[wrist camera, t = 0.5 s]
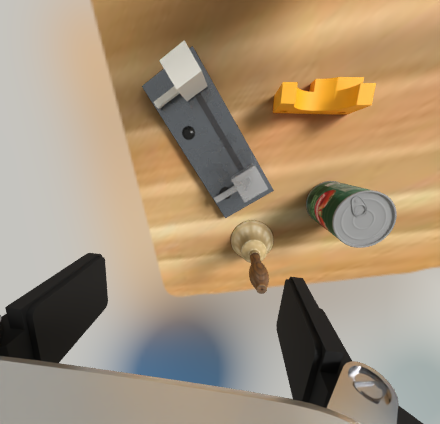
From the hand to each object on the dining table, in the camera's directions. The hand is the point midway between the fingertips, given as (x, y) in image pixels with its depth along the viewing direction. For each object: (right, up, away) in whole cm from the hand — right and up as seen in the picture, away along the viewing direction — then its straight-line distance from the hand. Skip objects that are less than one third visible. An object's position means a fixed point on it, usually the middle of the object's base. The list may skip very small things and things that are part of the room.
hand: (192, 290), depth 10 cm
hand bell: (+8, -2, +30) cm, 31 cm away
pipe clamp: (+16, +22, +23) cm, 36 cm away
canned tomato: (+21, +6, +27) cm, 35 cm away
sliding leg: (-5, +23, +22) cm, 33 cm away
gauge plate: (0, +16, +26) cm, 30 cm away
